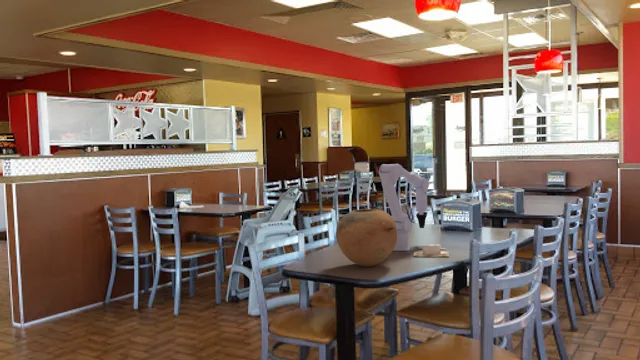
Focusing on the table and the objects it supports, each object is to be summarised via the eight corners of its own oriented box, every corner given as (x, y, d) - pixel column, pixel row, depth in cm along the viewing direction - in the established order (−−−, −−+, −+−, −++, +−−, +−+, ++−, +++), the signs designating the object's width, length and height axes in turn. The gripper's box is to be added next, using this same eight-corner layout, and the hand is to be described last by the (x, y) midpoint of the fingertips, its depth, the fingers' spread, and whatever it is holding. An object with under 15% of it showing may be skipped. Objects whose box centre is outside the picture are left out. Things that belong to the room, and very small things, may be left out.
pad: (413, 257, 261) (413, 255, 261) (414, 253, 271) (414, 251, 271) (448, 257, 258) (448, 255, 258) (448, 253, 268) (448, 251, 268)
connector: (417, 254, 264) (417, 245, 264) (417, 252, 268) (417, 244, 267) (446, 254, 261) (445, 245, 261) (445, 252, 265) (445, 244, 265)
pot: (320, 266, 248) (318, 210, 246) (361, 256, 266) (359, 204, 265) (375, 276, 225) (373, 214, 224) (415, 264, 244) (413, 207, 243)
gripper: (429, 202, 284) (429, 228, 284) (429, 199, 298) (430, 225, 299) (414, 202, 285) (415, 229, 286) (416, 199, 299) (416, 225, 300)
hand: (422, 227), depth 292 cm, fingers open, 7 cm apart
